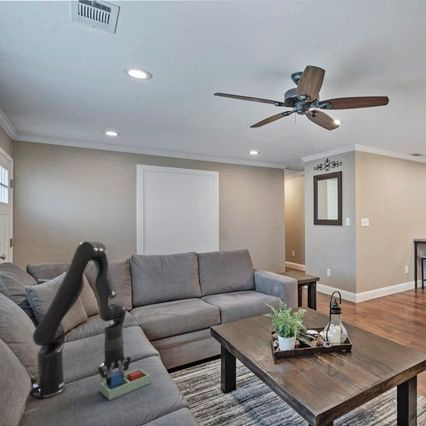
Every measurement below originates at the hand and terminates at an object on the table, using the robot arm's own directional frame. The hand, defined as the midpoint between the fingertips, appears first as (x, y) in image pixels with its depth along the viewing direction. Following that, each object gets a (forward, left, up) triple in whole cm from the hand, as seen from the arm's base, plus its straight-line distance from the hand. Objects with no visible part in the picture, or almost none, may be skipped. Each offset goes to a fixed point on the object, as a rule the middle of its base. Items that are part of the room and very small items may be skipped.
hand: (115, 382), depth 152 cm
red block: (+9, 0, -3) cm, 9 cm away
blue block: (0, 0, 0) cm, 0 cm away
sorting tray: (+4, 0, -4) cm, 6 cm away
